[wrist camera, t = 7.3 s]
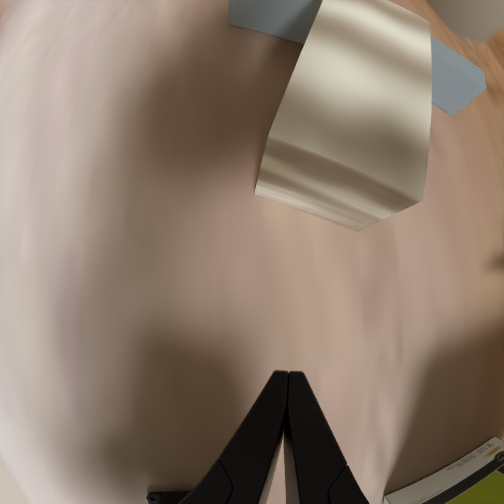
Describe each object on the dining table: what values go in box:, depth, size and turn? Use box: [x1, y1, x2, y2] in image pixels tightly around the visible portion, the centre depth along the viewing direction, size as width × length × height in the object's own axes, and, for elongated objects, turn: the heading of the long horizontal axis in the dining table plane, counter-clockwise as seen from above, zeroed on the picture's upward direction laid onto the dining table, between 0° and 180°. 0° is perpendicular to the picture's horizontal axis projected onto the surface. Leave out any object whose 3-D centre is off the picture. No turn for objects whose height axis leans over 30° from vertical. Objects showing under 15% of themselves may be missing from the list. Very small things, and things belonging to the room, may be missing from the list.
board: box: [229, 0, 486, 116], centre depth 21 cm, size 2×24×6 cm, turn 71°
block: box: [254, 0, 432, 232], centre depth 19 cm, size 16×8×9 cm, turn 161°
